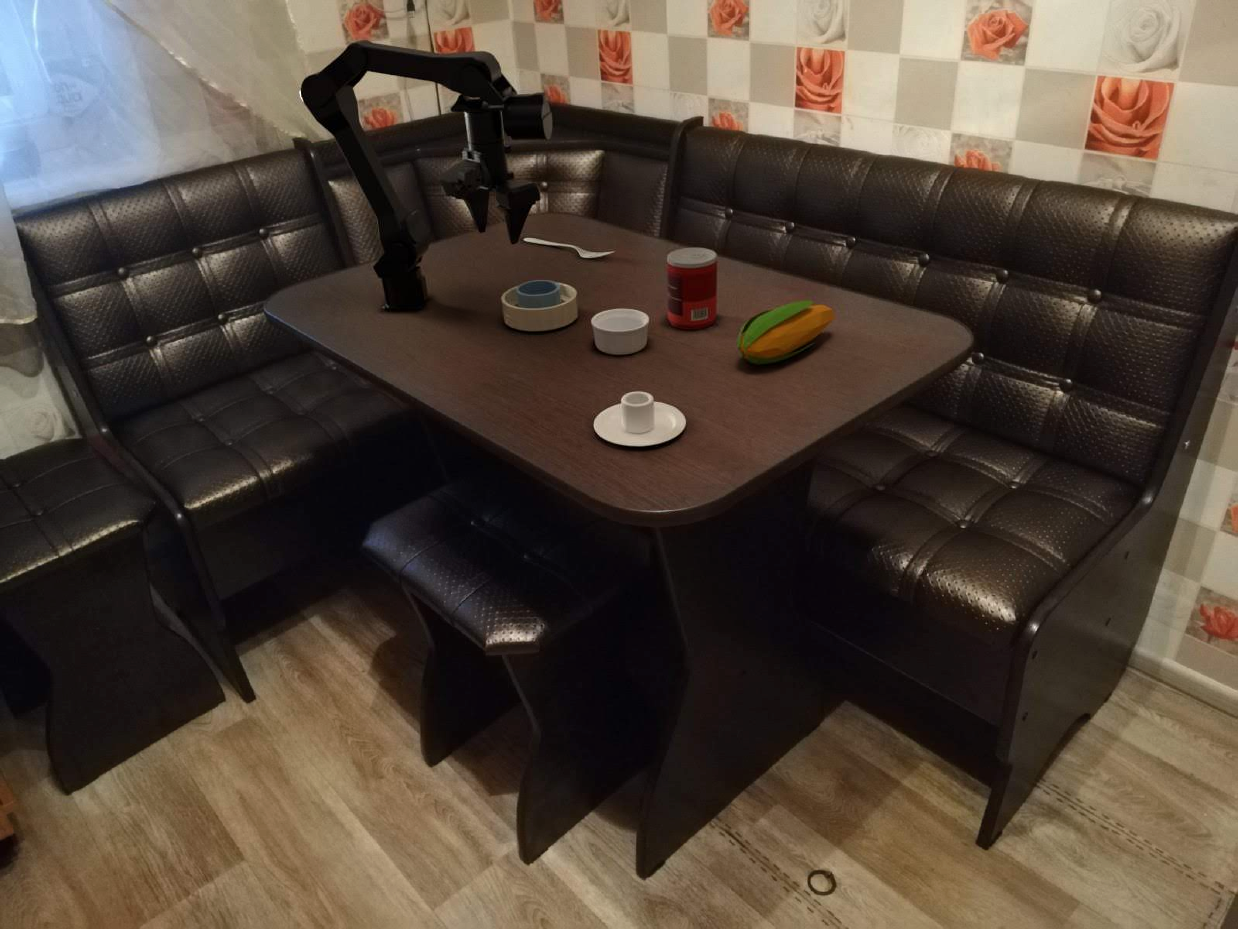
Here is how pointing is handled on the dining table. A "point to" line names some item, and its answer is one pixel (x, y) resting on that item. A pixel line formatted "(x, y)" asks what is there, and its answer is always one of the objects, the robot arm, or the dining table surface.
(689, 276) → the canned food
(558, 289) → the slate bowl
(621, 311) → the ramekin
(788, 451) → the dining table surface
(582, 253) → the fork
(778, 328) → the corn
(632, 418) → the candle holder
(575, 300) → the cream bowl
